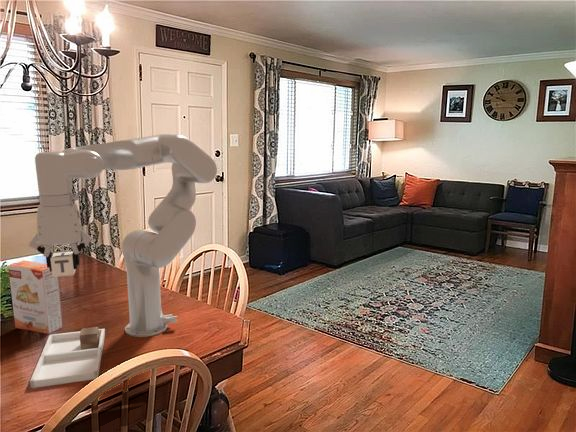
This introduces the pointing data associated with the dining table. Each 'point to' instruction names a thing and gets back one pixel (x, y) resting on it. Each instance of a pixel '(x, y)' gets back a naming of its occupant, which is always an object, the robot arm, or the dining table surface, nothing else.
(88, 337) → the walnut block
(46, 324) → the cracker box
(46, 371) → the organizer
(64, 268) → the letter cube
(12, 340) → the dining table surface
